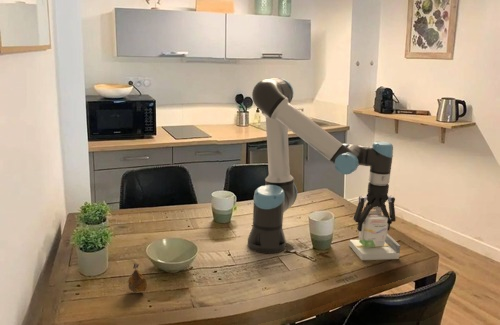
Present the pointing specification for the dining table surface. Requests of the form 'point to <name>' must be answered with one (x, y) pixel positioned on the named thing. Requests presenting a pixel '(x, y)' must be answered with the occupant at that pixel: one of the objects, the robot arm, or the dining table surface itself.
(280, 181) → the robot arm
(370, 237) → the ink box
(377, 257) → the dock
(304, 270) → the dining table surface
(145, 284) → the brown pointed lump
